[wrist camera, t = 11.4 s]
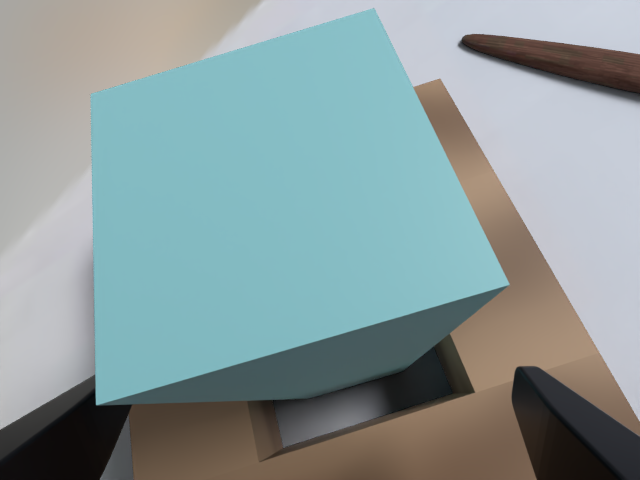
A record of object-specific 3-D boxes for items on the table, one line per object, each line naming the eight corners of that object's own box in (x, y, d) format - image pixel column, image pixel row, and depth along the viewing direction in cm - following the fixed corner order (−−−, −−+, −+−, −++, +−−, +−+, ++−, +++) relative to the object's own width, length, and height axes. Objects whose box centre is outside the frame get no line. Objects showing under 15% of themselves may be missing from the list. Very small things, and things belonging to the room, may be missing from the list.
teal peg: (402, 371, 15) (510, 285, 3) (308, 398, 15) (96, 406, 4) (372, 280, 17) (374, 8, 5) (286, 305, 17) (90, 94, 5)
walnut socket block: (627, 509, 13) (712, 547, 10) (207, 644, 13) (151, 727, 10) (428, 130, 20) (440, 78, 16) (153, 219, 20) (111, 185, 16)
